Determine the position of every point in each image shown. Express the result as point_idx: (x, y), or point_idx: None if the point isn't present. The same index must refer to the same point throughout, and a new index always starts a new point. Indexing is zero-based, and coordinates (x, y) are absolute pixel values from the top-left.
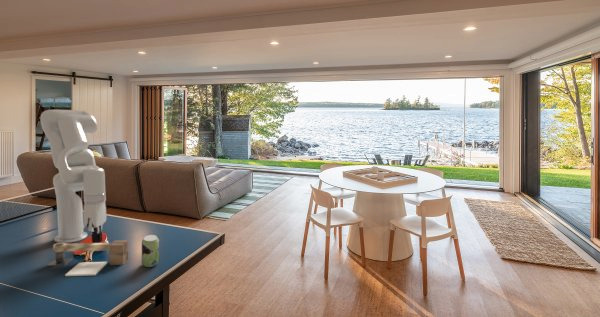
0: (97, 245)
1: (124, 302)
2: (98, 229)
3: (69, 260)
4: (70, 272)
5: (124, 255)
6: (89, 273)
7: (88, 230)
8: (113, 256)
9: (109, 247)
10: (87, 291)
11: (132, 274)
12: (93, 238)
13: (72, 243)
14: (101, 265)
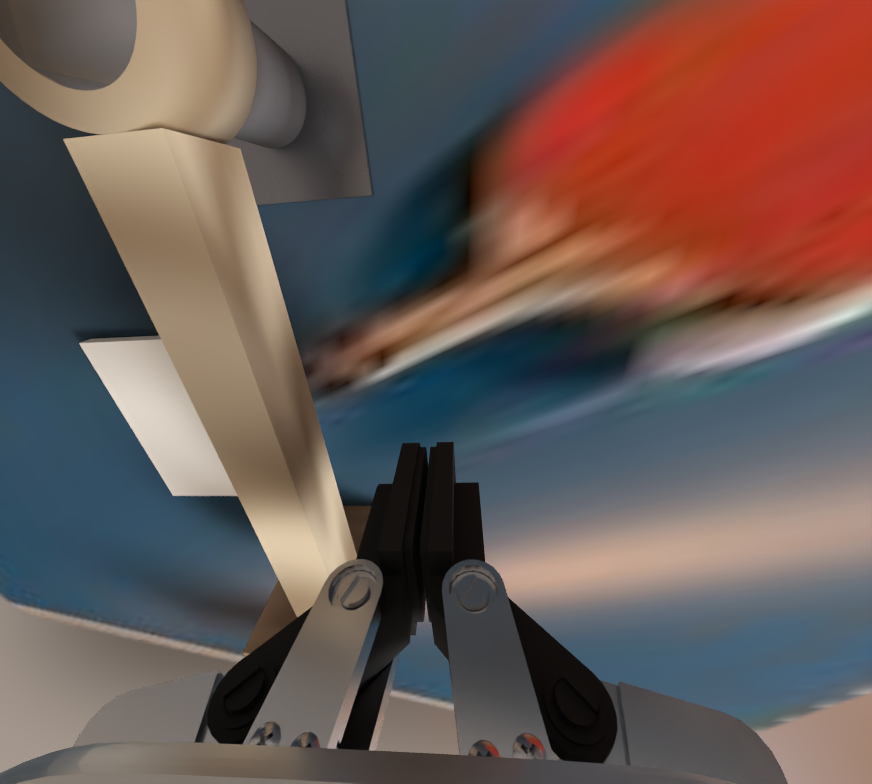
0: (270, 552)
1: (71, 620)
2: (351, 724)
3: (312, 198)
4: (119, 359)
5: None
6: (162, 469)
7: (77, 742)
8: None
9: (255, 630)
10: (48, 514)
11: (247, 602)
12: (371, 512)
13: (211, 258)
14: None
